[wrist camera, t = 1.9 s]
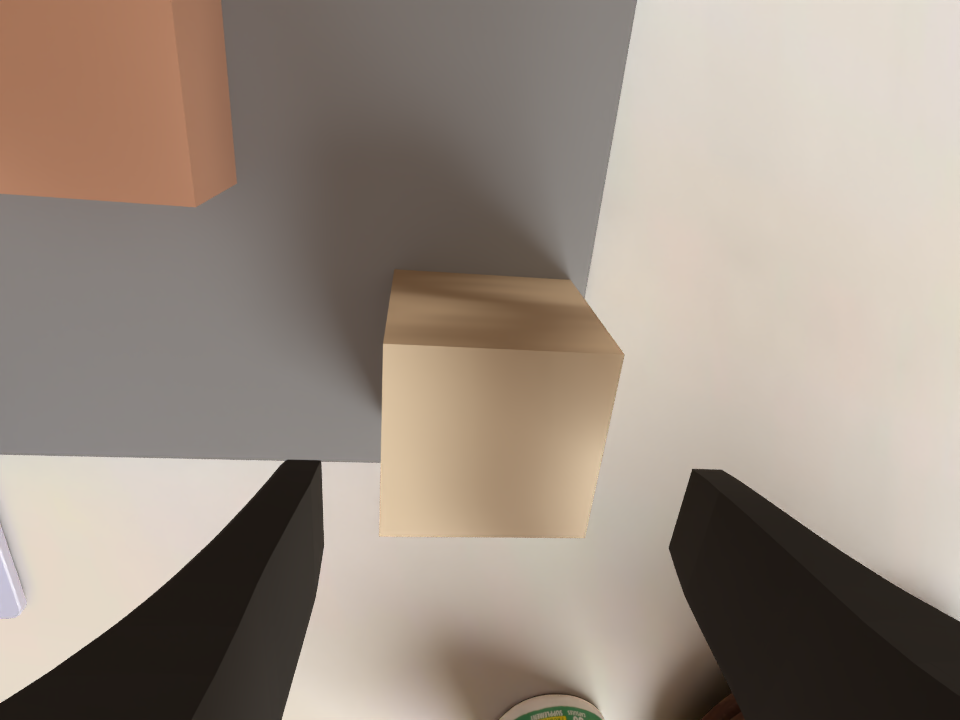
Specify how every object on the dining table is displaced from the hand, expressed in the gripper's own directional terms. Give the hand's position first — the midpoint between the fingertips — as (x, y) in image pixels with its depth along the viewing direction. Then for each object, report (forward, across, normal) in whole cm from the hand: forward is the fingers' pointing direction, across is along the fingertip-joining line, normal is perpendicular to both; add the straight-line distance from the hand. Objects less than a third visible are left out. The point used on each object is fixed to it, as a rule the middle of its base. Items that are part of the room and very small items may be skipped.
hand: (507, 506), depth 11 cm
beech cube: (+7, 0, 0) cm, 7 cm away
